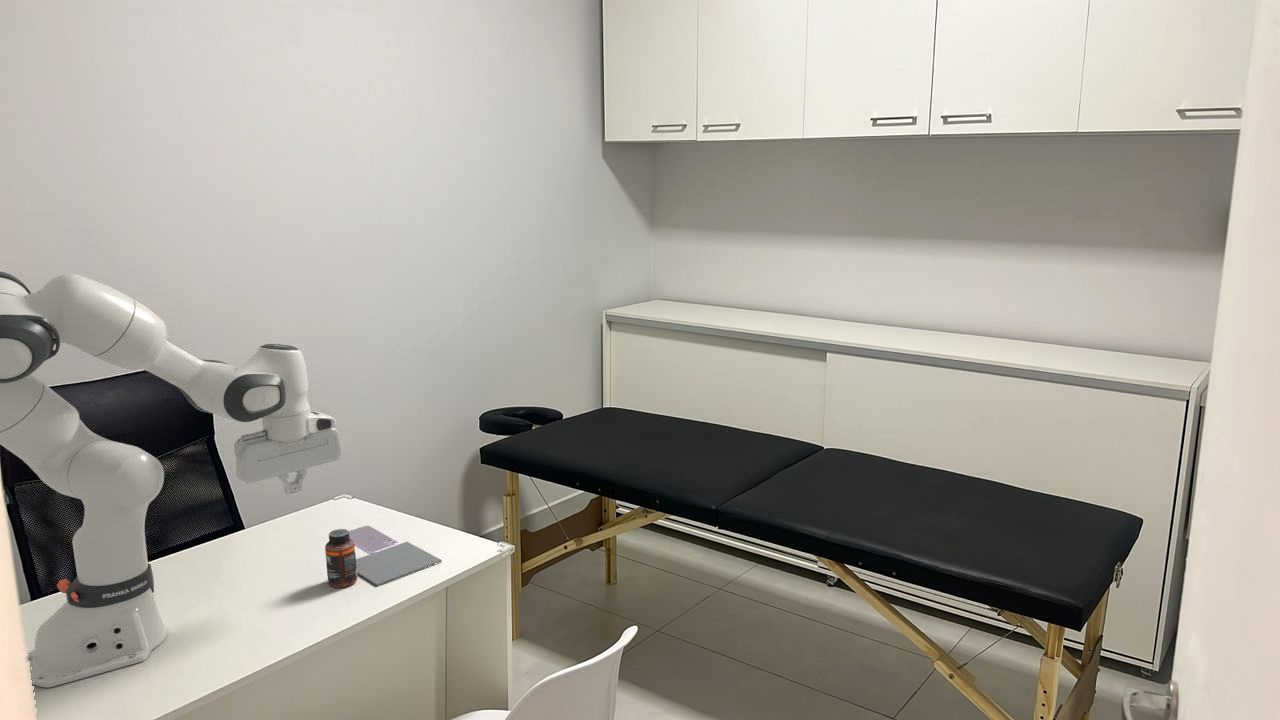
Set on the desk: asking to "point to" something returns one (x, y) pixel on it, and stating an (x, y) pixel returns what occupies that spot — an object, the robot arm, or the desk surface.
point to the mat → (393, 563)
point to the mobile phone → (371, 539)
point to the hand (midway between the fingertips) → (293, 491)
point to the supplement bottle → (340, 559)
